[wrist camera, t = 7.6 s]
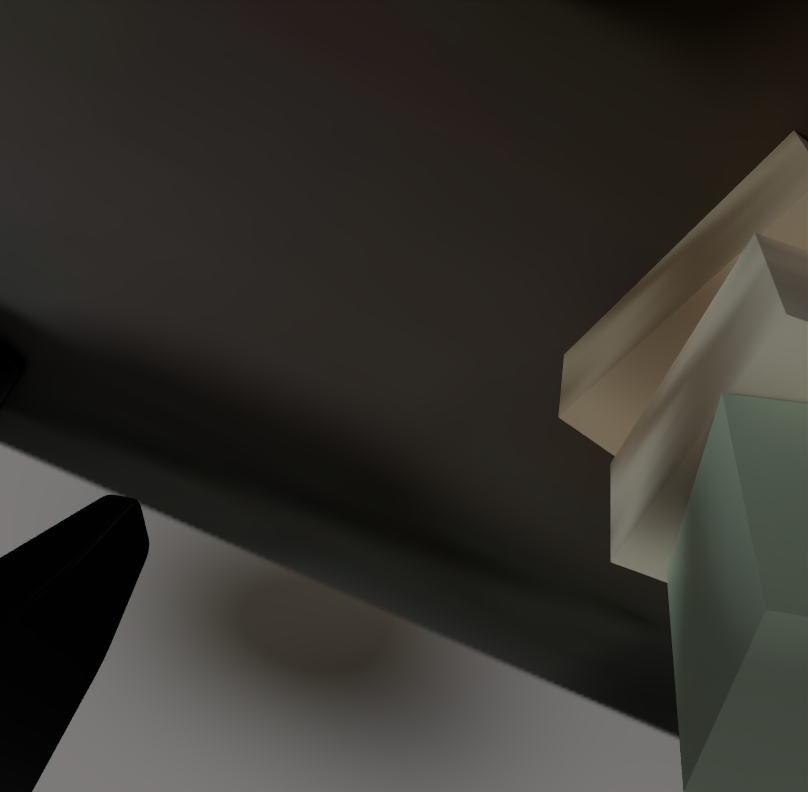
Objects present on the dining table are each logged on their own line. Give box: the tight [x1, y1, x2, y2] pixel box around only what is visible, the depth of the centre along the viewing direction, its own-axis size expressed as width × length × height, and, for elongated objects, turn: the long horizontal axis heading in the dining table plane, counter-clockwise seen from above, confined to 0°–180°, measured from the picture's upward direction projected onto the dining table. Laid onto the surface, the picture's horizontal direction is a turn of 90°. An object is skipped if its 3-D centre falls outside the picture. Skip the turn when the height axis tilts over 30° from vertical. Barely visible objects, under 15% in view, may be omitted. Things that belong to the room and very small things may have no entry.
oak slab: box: [559, 131, 808, 456], centre depth 19 cm, size 8×8×4 cm
